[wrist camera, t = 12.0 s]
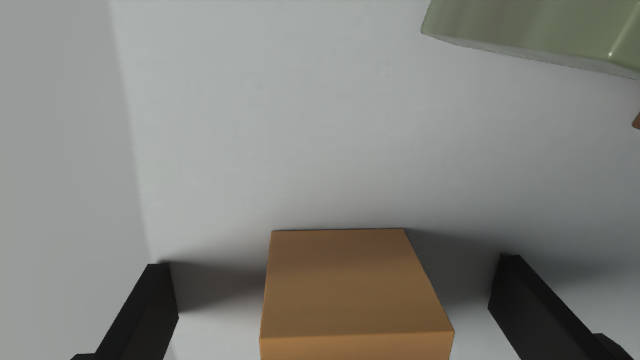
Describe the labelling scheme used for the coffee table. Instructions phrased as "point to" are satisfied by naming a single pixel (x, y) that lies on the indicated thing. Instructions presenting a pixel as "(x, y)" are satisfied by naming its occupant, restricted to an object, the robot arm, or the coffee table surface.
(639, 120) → the cabinet
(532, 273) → the robot arm
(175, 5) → the coffee table surface
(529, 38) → the drawer
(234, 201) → the coffee table surface
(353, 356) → the block
